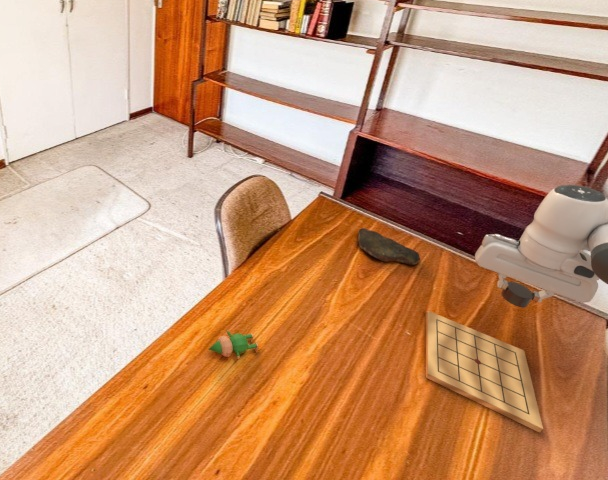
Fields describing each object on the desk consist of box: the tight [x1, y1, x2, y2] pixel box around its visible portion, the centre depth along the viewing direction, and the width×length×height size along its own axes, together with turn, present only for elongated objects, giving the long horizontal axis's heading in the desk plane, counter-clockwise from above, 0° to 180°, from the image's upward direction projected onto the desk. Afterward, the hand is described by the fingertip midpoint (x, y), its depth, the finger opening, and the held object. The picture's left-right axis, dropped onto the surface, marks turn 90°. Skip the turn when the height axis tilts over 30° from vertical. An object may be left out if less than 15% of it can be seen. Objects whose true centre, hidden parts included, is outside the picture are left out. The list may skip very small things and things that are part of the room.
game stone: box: [500, 281, 533, 309], centre depth 94 cm, size 5×5×3 cm
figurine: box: [208, 329, 259, 360], centre depth 93 cm, size 4×7×12 cm
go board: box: [425, 310, 544, 434], centre depth 93 cm, size 20×20×2 cm
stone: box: [357, 227, 421, 266], centre depth 124 cm, size 18×11×3 cm, turn 49°
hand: (517, 293), depth 94 cm, fingers closed on game stone, 5 cm apart
